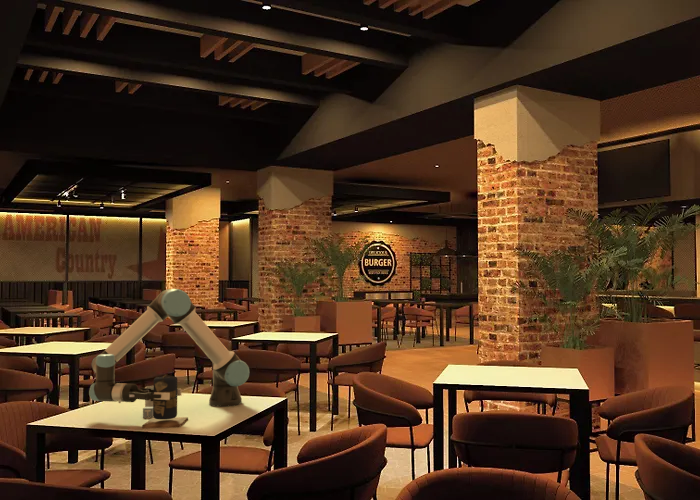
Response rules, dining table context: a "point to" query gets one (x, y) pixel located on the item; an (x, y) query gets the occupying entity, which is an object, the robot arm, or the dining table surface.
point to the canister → (165, 407)
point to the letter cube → (147, 412)
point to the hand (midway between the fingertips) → (175, 394)
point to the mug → (148, 402)
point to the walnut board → (165, 422)
